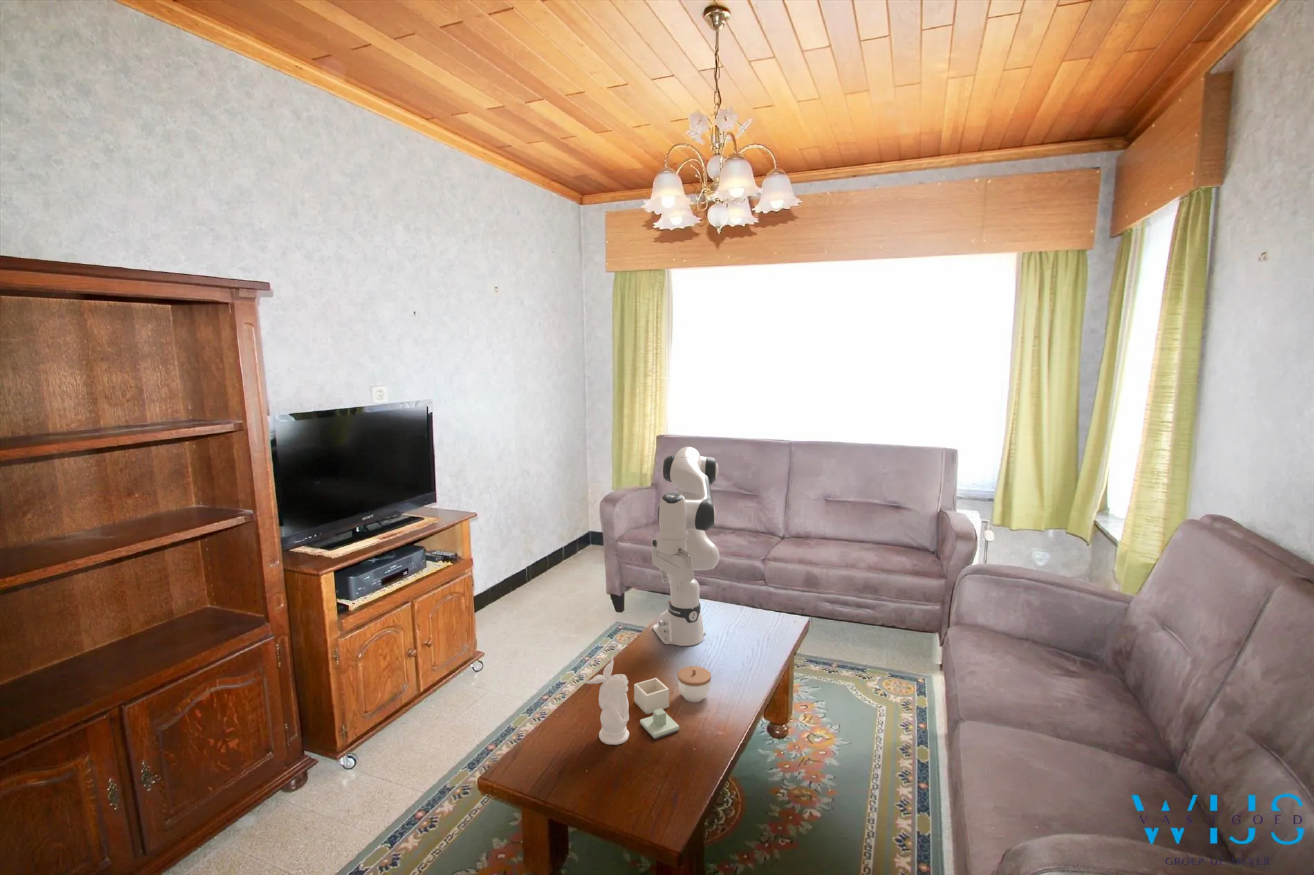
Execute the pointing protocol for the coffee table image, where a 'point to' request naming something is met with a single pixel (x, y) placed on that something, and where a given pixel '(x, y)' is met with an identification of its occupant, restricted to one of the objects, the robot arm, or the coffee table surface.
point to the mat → (661, 735)
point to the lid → (659, 723)
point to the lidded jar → (694, 683)
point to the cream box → (651, 695)
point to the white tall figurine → (612, 705)
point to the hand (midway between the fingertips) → (672, 587)
